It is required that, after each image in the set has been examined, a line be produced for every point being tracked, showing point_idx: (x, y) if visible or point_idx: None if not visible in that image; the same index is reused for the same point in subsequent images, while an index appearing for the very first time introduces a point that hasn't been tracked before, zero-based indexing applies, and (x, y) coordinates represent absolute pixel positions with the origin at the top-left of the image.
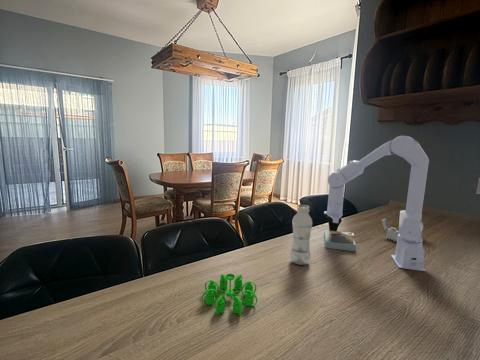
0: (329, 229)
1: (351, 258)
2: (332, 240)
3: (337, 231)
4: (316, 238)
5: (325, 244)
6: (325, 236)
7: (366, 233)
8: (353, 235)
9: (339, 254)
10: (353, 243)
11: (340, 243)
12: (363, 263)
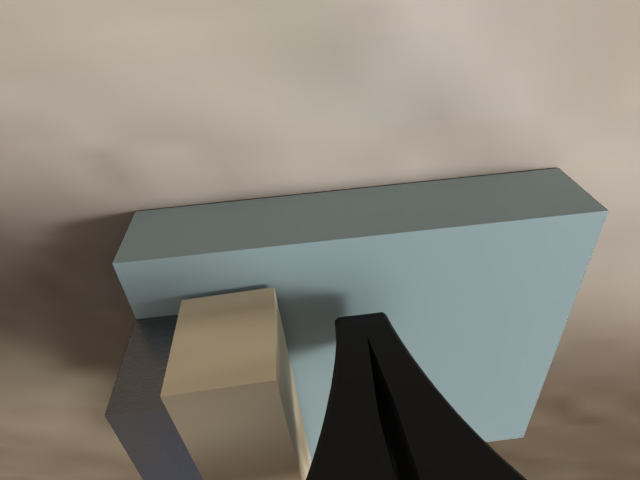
0: (334, 380)
1: (34, 408)
2: (134, 349)
3: (288, 457)
4: (423, 76)
5: (126, 235)
6: (321, 245)
7: (631, 450)
8: None
9: (45, 338)
10: None
11: None
12: (6, 460)
